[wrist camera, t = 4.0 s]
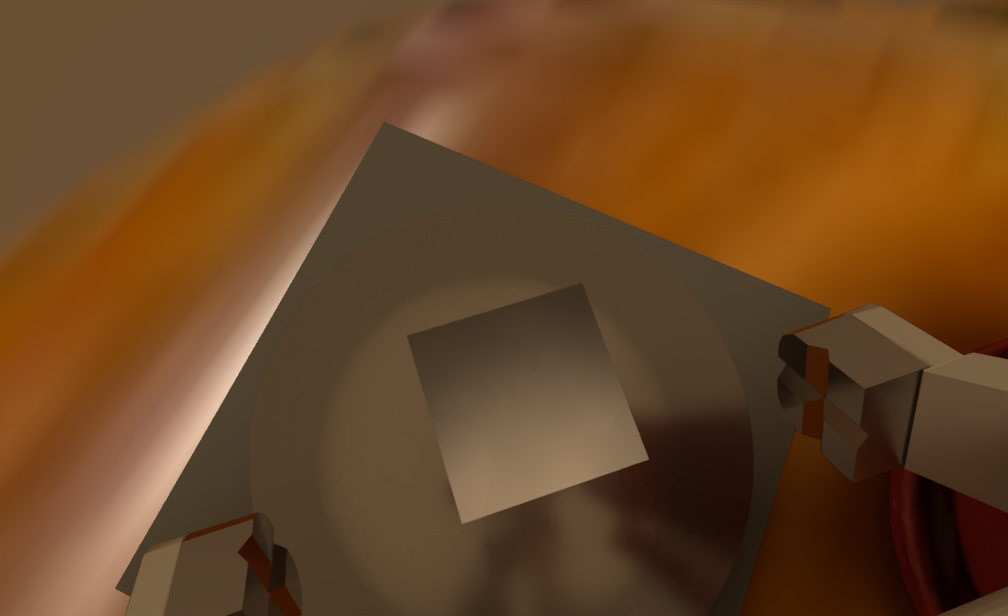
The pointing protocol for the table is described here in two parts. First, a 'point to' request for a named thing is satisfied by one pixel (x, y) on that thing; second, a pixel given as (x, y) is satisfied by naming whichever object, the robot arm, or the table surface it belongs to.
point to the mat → (467, 182)
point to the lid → (503, 427)
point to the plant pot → (947, 537)
